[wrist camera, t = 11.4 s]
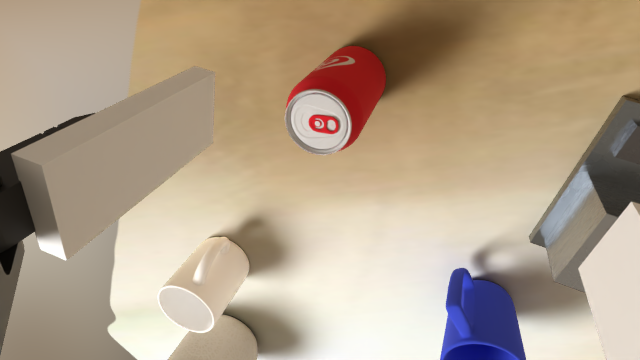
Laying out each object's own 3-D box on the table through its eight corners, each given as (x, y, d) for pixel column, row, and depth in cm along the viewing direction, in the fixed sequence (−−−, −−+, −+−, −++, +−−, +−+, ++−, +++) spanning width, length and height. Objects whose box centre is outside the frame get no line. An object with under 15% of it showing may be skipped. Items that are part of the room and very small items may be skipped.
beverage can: (325, 41, 39) (275, 78, 29) (390, 46, 37) (360, 87, 27) (325, 103, 42) (280, 155, 32) (384, 110, 40) (355, 167, 30)
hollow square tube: (588, 176, 36) (606, 213, 31) (684, 205, 35) (718, 249, 30) (544, 239, 41) (553, 281, 36) (627, 268, 39) (648, 315, 35)
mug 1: (210, 207, 55) (163, 256, 47) (264, 234, 54) (226, 289, 46) (197, 261, 62) (154, 312, 54) (244, 286, 61) (208, 342, 53)
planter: (266, 364, 71) (236, 426, 62) (203, 342, 73) (166, 398, 65) (266, 319, 64) (232, 381, 55) (197, 296, 67) (154, 351, 58)
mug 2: (492, 238, 44) (496, 307, 36) (529, 316, 47) (540, 395, 39) (421, 254, 48) (410, 319, 40) (460, 325, 51) (458, 398, 43)
